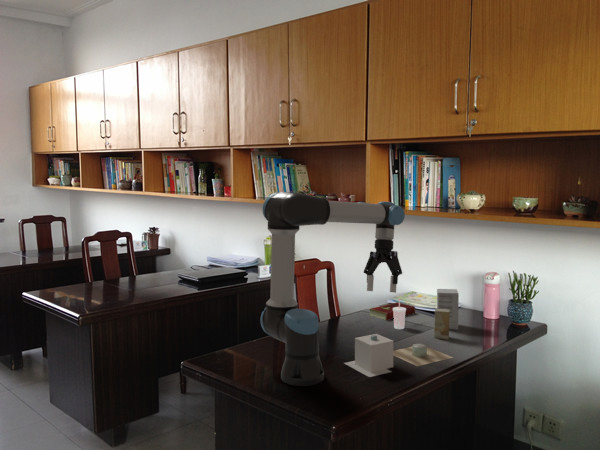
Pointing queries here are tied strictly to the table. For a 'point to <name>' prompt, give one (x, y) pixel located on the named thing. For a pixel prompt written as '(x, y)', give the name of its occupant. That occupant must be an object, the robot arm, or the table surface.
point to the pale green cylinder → (419, 350)
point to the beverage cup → (399, 317)
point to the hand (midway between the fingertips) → (381, 291)
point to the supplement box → (449, 305)
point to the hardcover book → (390, 310)
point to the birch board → (418, 361)
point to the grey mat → (365, 372)
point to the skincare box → (441, 324)
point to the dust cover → (373, 352)
